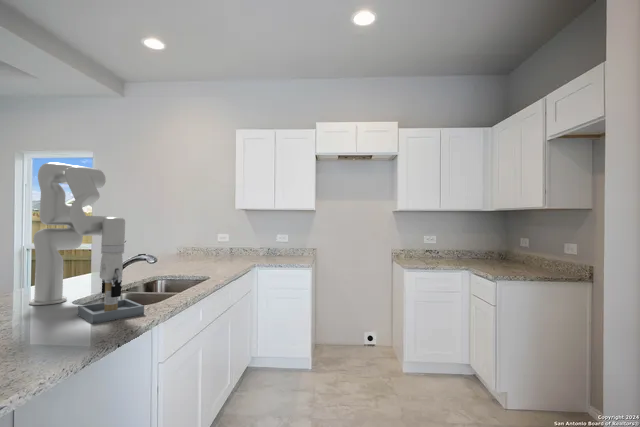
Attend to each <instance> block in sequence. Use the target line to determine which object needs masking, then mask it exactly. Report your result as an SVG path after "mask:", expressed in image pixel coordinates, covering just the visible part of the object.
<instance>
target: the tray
mask: <svg viewBox="0 0 640 427" xmlns="http://www.w3.org/2000/svg"><path fill="white" fill-rule="evenodd" d="M104 308H105V304H104V301H103V302H97V303H90V304H82V305H77V315H78V316H79V317H81V318H82V319H84V320H86V321H87V322H89V323H90V324H100V323H104V322H111V321H115V319H116V320H120V319H126V318H131V317H137V316H142V315H145V305H143V304H141V303H138V302H136V301H133V300H131V299H128V298H123V299H118V308H117V309H118V310H112V311H106V312H104ZM110 320H111V321H110Z"/></svg>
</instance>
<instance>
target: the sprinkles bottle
mask: <svg viewBox="0 0 640 427" xmlns="http://www.w3.org/2000/svg"><path fill="white" fill-rule="evenodd" d="M114 282H115V281H114ZM111 287H112V282H111V280H110V281H106V280H105V293H104V301H103V302H104V304H105V308H104V312H106V311H112V310H118V309H117V308H118V300H119V297H113V298H112V297H111Z"/></svg>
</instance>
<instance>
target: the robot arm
mask: <svg viewBox="0 0 640 427" xmlns="http://www.w3.org/2000/svg"><path fill="white" fill-rule="evenodd" d="M37 181H38V185H39V190H40V200H39V202H40V203H39V219H40V222H41V224H43V225H46V226H66V228H64V227H61V228H60V227H58V228H56V227H55V228H54V227H52V228H51V227H50V228H49V227H48V228H42V229H39V230H37V231H36V232H35V233H34V234H33V245H34V252H35V268H34V269H35V273H34V295H33V297H34V298H33V299H30V300H29V305H31V306H48V305H54V304H60V303H64V302H66V301H67V300H68V297H66V296H63V290H64V258H63V256H62V254H61V253H60V252H59V251H64V250H65V251H66V250H76V249H78V248H80V247H81V245H82V244H83V238H84V237H90V236H91V237H92V236H101V242H100V243H101V246H100V247H101V248H100V254H101V258H100V269H99V278H100V279H102V280H101V294H105V280H106V281H110V280H111V282H112V287H111V297H112V298H113V297H118V298H119V297H121V296H122V282H123V280H122V279H123V268H124V266H123V255H124V253H125V239H126V238H125V237H126V235H125V234H126V220H125V218H124V217H119V216H117V217H115V216H108V215H107V216H106V215H105V216H103V215H86V214H85V213H86V212H85V211H84V208H86V207H87V206H91V205H93V204H95V203H96V202H98V200H99V199H100V197H101V195H100V192H99V190H98V189H101V188H103V187H104V186H105V184H106V182H107V180H106V175H105V173H104V172H103V170H101V169H99V168H96V167H89V166H88V167H87V166H84V165H83V166H81V165H75V164H74V165H73V164H68V163H62V162H46V163H43V164H42V165H41V166H40V167H39V168H38V172H37ZM61 184H64V185H68V188H69V189H70V192H71V194H72V196H73V198H74V201H73V202H72V203H66V197H67V196H66V191H65V190H64V188H63V186H61ZM114 281H115V282H114Z"/></svg>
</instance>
